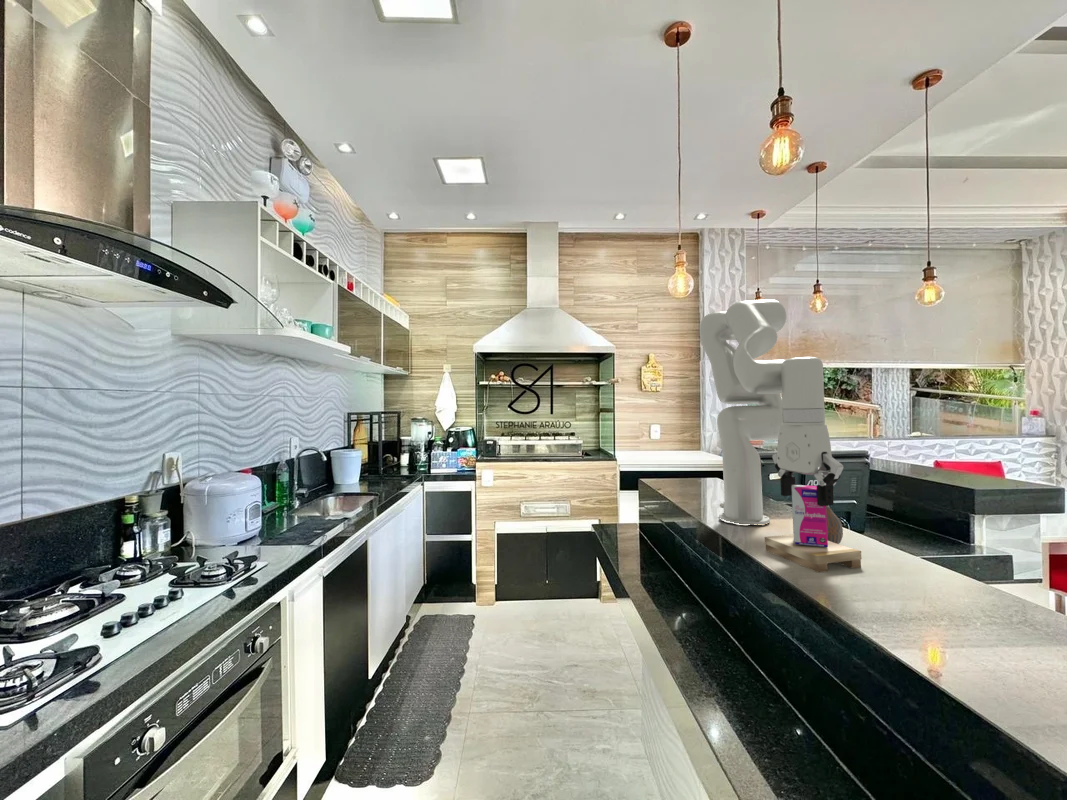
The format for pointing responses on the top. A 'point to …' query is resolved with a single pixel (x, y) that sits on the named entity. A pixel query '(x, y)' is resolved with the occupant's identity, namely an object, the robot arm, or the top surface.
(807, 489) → the supplement box
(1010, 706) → the top surface
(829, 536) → the vase
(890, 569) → the top surface
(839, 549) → the platform
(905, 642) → the top surface
